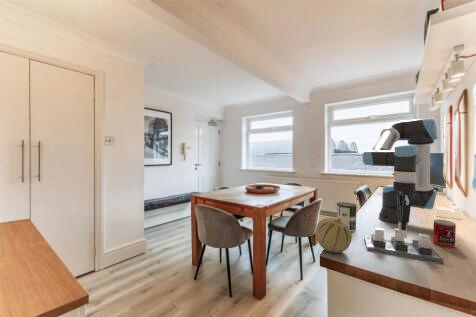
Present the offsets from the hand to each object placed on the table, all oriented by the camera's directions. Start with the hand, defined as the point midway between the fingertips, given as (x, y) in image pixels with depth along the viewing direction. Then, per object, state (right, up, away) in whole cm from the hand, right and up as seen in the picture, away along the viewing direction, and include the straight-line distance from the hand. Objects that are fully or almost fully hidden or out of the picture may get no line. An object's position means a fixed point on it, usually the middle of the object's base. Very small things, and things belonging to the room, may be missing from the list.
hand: (402, 236), depth 93 cm
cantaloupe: (-28, -8, +3) cm, 30 cm away
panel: (+2, -8, +5) cm, 10 cm away
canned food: (+29, -8, +12) cm, 32 cm away
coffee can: (-8, -7, +33) cm, 35 cm away
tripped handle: (+2, -3, +5) cm, 7 cm away
